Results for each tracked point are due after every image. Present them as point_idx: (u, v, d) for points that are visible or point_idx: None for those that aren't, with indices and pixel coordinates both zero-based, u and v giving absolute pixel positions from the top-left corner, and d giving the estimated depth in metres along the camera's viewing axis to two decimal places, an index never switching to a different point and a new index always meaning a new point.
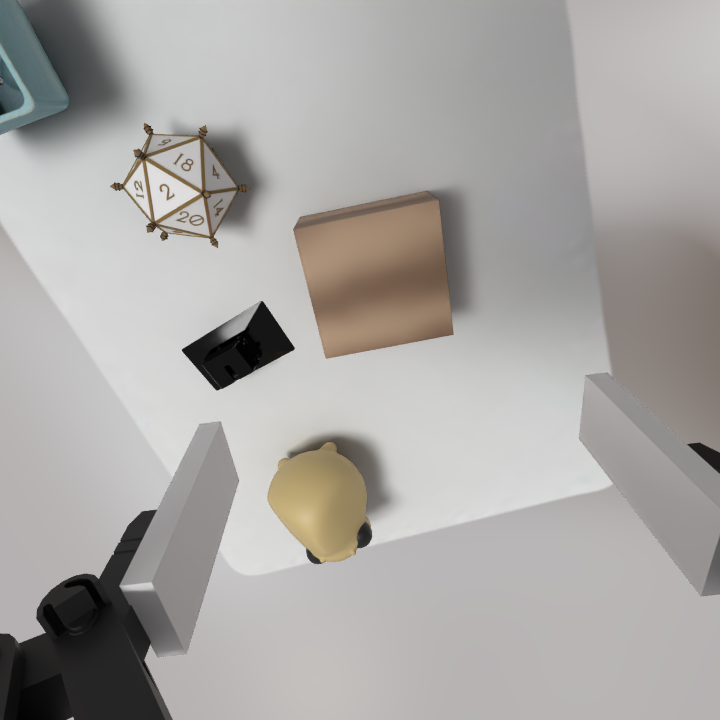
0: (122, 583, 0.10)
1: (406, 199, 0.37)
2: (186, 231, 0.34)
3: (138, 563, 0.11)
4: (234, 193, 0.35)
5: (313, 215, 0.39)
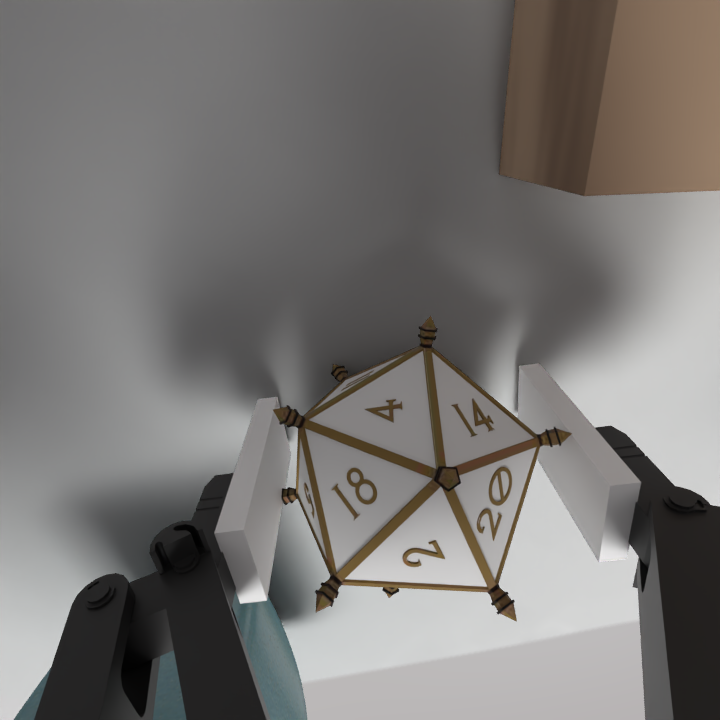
0: (216, 531, 0.12)
1: None
2: (519, 507, 0.13)
3: (227, 514, 0.12)
4: (438, 361, 0.13)
5: (509, 130, 0.14)
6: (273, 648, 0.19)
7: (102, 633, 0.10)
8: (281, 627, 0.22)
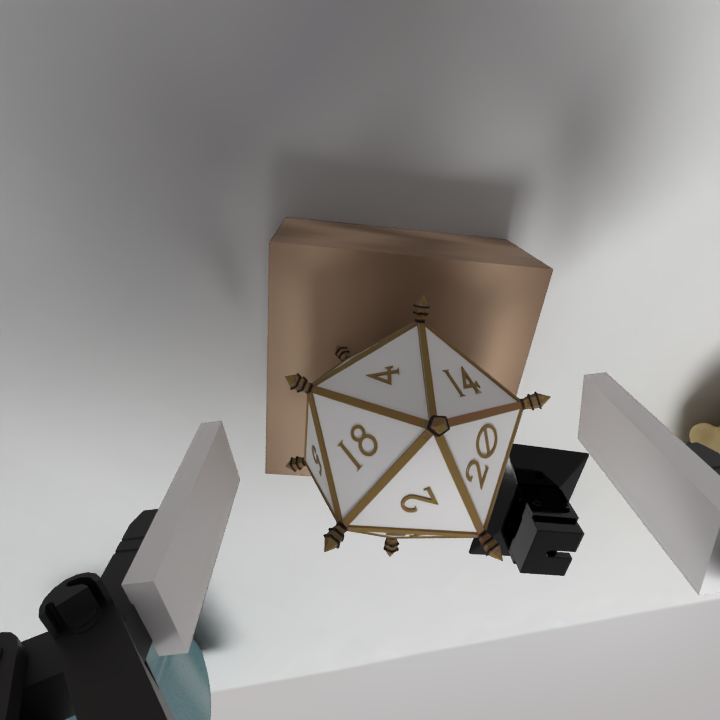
0: (124, 582, 0.10)
1: None
2: (505, 462, 0.14)
3: (140, 562, 0.11)
4: (430, 334, 0.15)
5: None
6: (185, 671, 0.31)
7: None
8: (198, 655, 0.35)
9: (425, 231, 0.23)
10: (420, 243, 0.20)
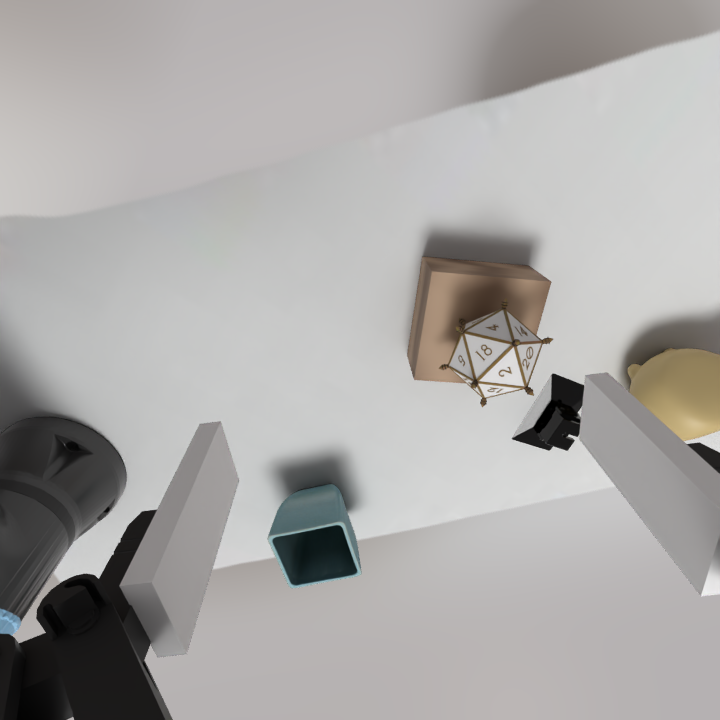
0: (122, 583, 0.10)
1: (422, 282, 0.45)
2: (535, 362, 0.38)
3: (138, 563, 0.11)
4: (508, 313, 0.39)
5: (409, 347, 0.50)
6: (346, 510, 0.55)
7: None
8: None
9: (489, 262, 0.46)
10: (490, 269, 0.43)
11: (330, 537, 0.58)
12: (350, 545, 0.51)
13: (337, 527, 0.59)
